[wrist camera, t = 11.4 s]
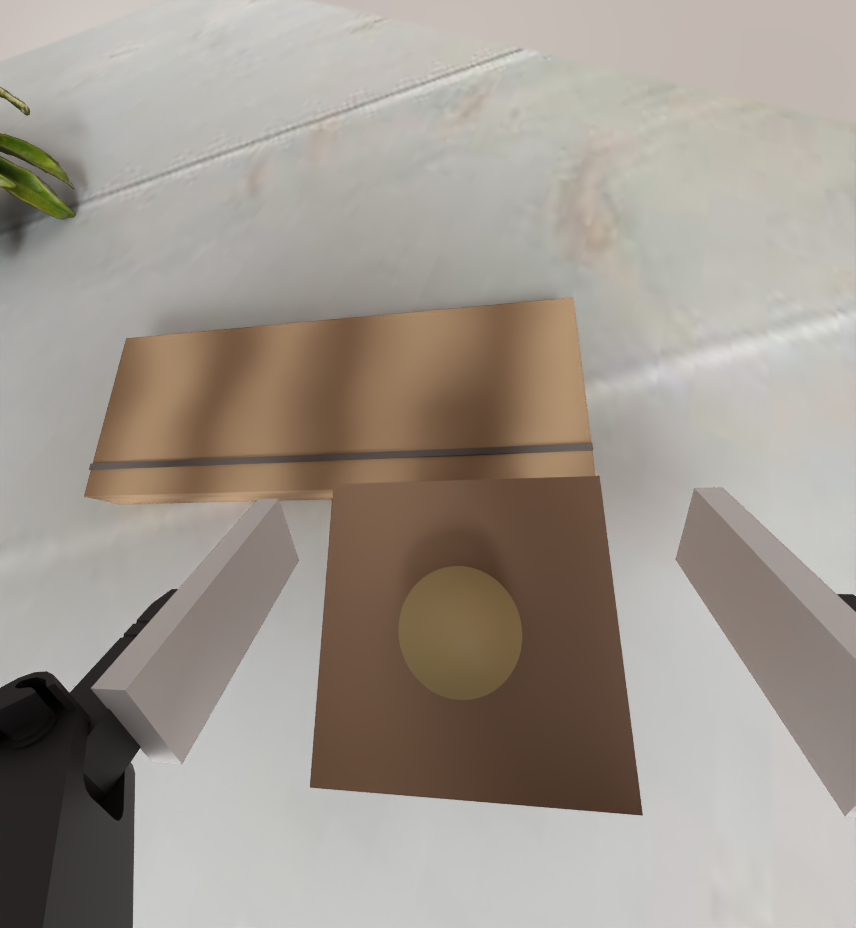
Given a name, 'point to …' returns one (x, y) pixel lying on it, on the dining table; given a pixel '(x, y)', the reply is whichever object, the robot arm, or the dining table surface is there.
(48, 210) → the passion flower
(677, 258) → the dining table surface
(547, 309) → the board
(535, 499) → the block
